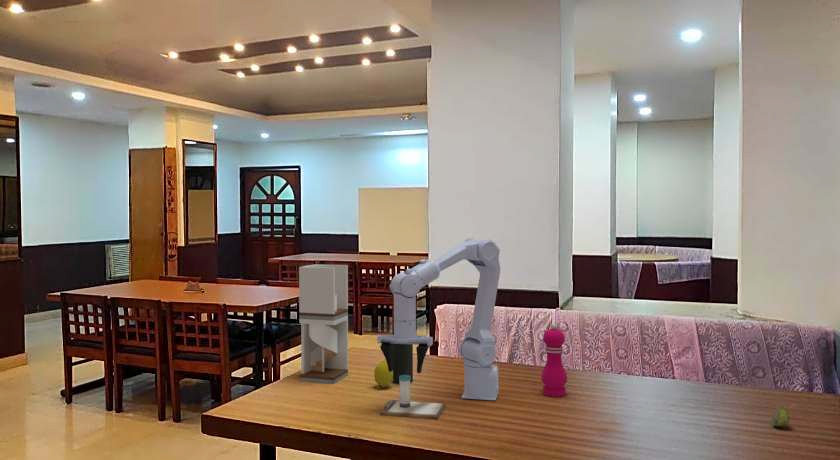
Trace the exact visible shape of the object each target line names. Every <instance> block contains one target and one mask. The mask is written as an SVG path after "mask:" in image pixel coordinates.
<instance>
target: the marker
mask: <svg viewBox="0 0 840 460" xmlns="http://www.w3.org/2000/svg"><path fill="white" fill-rule="evenodd" d="M399 380H400V384H399V400H400V407H402V408H407V407H410V401H411V383H410V380H411V376H409V375H401V376H399Z"/></svg>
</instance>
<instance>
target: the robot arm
mask: <svg viewBox="0 0 840 460" xmlns="http://www.w3.org/2000/svg"><path fill="white" fill-rule="evenodd" d="M500 250H501V249H500V248H499V246H498V245H497V243H496V242H495V241H493V240H492V239H490V238H489V239H481V238H480V239H478V238H477V239H475V238H471V237H468V238H467V239H465V240H463V241H461V242H459V243H458V244H457V245H456V246H454V247H453V248H451V249H450V250H448V251H447V252H445V253H444V254H442V255H440V256H439V257H437V258H436V259H434V260H432V259H424V258H423V259H421V260H420V261H419V264H417V265H415V266H413V267H411V268H407V269H406V270H405V273H397V274H396V275H394V277H393V278H392V279H391V282H390V284H389V289H390V292H391V293H392V294H393V334H378V335H377V338H376V341H377V344H380V345H379V347H380V350H381V353H382V354H383V356H384V358H385V362H387V365H388V370H389V372H391V371H392V370H393V349H394V344H413V345H417V346H416V347H415V350H416V361H417V362H416V363H417V364H416V373H417V374H421V372H422V370H423V369H422V368H423V363H424V360H425V358H426V355H427V352H428V350H429V348H430V347H432V346H433V344H434V338H433V336H425V335H417V331H416V330H417V327H416V326H417V320H416V319H417V316H416V315H417V314H416V313H417V311H416V310H417V308H416V307H417V301H416V300H417V297H416V296H418V294H419V293H420V290H421V289H422V288H424V287H425V286H427V285H429V284H430V283H432V282H433V281H435V280H437V279H438V278H439V277H440V275H441V272H442V271H445V270H446V269H448V268H450V267H452V266H454V265H455V264H457V263H459V262H461V261H463V260H464V261H465V260H466V261H467V262H468V263H470V264H472V265H473V266H474V267H475V268H476V270H477V271H478V272H479V277H478V283H477V289H476V290H477V291H476V296H475V297H476V298H475V301H474V302H475V303H474V307H473V308H474V309H473V314H472V318H471V319H472V320H471V327H470V328H469V329H468V330H467V331H466V332H465V333H464V336H463V340H462V342H461V343H460V346H459V354H460V357H462V359H463V363H464V390H463V393H462V395H461V399H468V400H482V401H483V400H484V401H497V397H498V395H499V391H500V389H499V388H500V387H499V366H498V365H497V364H496V365H495V364H493V362H494V361H495V359H496V357H497V356H496V355H497V350H496V338H495V337H494V335H493V334H492V332H491V330H492V324H493V323H492V322H493V317H494V311H495V306H496V300H497V293H498V287H499V281H500V274H501V265H500V260H499V259H500Z"/></svg>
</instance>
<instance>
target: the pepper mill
mask: <svg viewBox="0 0 840 460" xmlns="http://www.w3.org/2000/svg"><path fill="white" fill-rule="evenodd" d="M542 338H543V339H542V341H543V342H544V344H545V346H544V348H545V349H544V350H545V351H544V352H546V363H545V365H544V367H543V370H542V372H541V379H540V380H541V382H542V383H543V387H542V393H543V395H545V396H548V397H555V398H556V397H557V398H558V397H564V396H565V395H566V393H567V392H566V387H565V385H566V384H567V381H568V375H567V371H566V369H565V368H564V366H563V365H564V364H563V361H562V353H563V352H564V347H563V345H564V343H565V340H566V339H565V334H564V332H563V331H562V330H560V329H558V326H557V324H556V323H552V324H551V325H550V329H547V330H546V331H545V332H544V333H543V336H542Z"/></svg>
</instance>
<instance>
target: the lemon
mask: <svg viewBox="0 0 840 460" xmlns="http://www.w3.org/2000/svg"><path fill="white" fill-rule="evenodd" d="M373 374H374V381H375V382H376V383H377V385H378V386H380V387H382V388H383V389H384V388H386V387H387V386H388V385H390V384H391V383H392V382H393V370H392V371H391V372H389V370H388V365H387V362H386V360H382V361H381V362H378V363H377V364H376V366H375V367H374V373H373Z"/></svg>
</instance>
